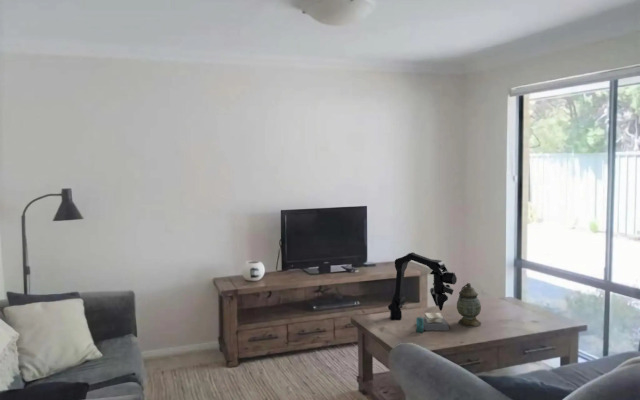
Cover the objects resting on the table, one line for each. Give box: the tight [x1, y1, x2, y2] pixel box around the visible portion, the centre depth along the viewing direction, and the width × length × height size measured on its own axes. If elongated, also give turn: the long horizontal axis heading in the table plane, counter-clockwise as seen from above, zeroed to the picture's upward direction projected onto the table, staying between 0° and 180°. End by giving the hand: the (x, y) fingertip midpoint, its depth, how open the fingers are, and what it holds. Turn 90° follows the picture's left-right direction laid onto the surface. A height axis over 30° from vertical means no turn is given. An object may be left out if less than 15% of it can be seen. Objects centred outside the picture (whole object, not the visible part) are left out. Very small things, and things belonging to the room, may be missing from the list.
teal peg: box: [415, 316, 424, 334], centre depth 288 cm, size 4×4×8 cm
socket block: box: [420, 316, 449, 331], centre depth 297 cm, size 14×14×4 cm
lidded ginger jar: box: [456, 282, 482, 328], centre depth 300 cm, size 14×14×25 cm
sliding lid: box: [424, 312, 444, 323], centre depth 297 cm, size 9×9×3 cm
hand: (438, 308), depth 293 cm, fingers open, 9 cm apart
